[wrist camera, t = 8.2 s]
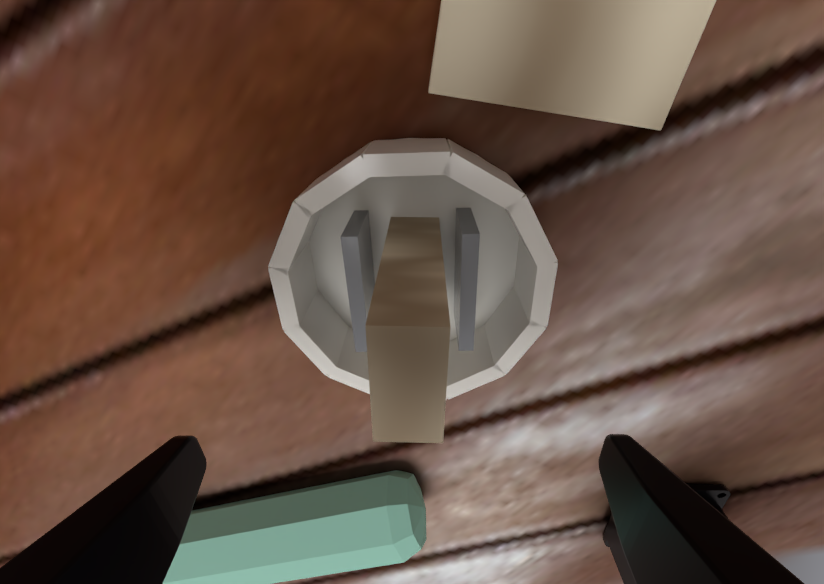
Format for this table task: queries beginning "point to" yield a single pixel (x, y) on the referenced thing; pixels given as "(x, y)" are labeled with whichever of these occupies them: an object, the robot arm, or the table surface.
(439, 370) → the beige long wooden block
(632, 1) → the beige flat block
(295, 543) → the mint green faceted bar
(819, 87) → the table surface
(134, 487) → the robot arm
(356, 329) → the white round dish
